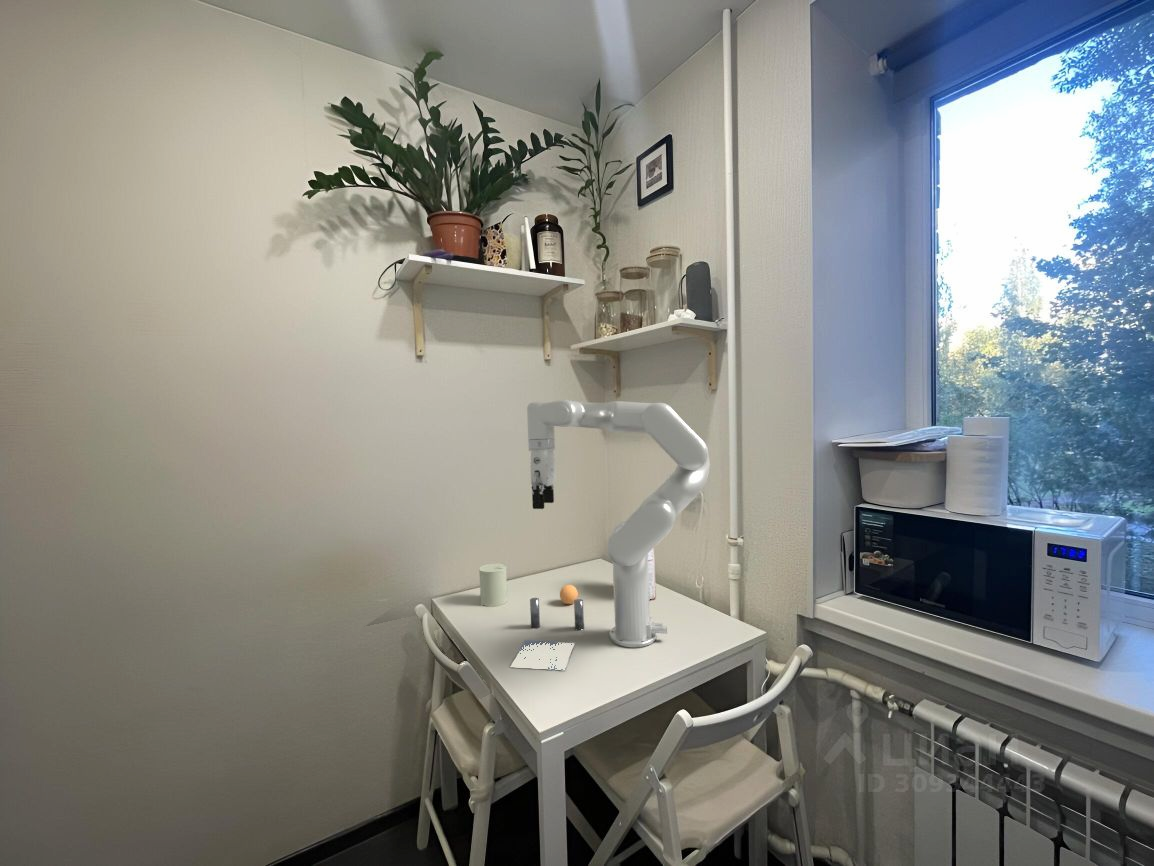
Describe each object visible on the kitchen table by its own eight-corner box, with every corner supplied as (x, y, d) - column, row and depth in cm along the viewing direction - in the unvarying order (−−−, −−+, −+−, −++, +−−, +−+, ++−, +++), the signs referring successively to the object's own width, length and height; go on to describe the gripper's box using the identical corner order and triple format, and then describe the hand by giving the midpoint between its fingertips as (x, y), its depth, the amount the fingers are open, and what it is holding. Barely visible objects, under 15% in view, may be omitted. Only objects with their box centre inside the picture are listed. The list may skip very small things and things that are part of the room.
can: (502, 607, 148) (500, 570, 148) (475, 606, 150) (474, 570, 150) (511, 596, 157) (510, 562, 157) (486, 595, 159) (485, 561, 159)
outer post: (540, 624, 133) (539, 597, 133) (538, 628, 131) (537, 601, 131) (532, 624, 134) (531, 597, 134) (529, 628, 131) (528, 601, 131)
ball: (579, 600, 151) (579, 582, 151) (576, 607, 146) (575, 588, 145) (562, 599, 152) (561, 582, 152) (558, 606, 147) (557, 588, 147)
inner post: (584, 626, 131) (583, 599, 131) (583, 630, 129) (582, 602, 129) (575, 626, 132) (574, 598, 132) (574, 630, 129) (573, 602, 129)
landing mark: (575, 643, 121) (575, 642, 121) (565, 671, 107) (565, 670, 107) (525, 641, 124) (525, 640, 124) (508, 668, 110) (508, 667, 110)
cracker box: (620, 589, 160) (617, 530, 160) (634, 586, 163) (632, 528, 162) (641, 602, 147) (638, 538, 147) (656, 599, 150) (654, 536, 150)
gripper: (545, 446, 119) (547, 511, 119) (562, 443, 136) (563, 500, 136) (518, 447, 121) (520, 511, 121) (538, 444, 138) (540, 500, 138)
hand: (543, 505), depth 129 cm, fingers open, 9 cm apart
